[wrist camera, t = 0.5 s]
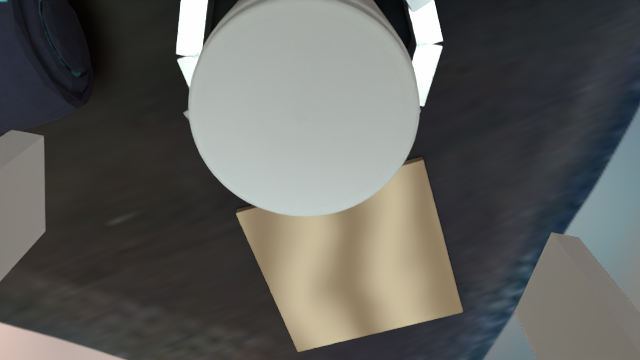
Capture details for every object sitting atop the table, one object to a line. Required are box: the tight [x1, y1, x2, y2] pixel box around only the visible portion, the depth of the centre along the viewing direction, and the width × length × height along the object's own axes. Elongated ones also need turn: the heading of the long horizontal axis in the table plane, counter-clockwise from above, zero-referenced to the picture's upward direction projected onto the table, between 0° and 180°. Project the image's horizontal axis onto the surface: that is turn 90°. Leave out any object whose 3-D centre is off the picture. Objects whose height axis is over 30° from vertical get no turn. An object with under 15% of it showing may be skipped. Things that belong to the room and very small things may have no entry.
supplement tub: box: [188, 0, 420, 217], centre depth 28 cm, size 10×10×15 cm
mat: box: [236, 157, 463, 352], centre depth 41 cm, size 14×14×1 cm
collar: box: [176, 0, 443, 121], centre depth 32 cm, size 16×16×4 cm
